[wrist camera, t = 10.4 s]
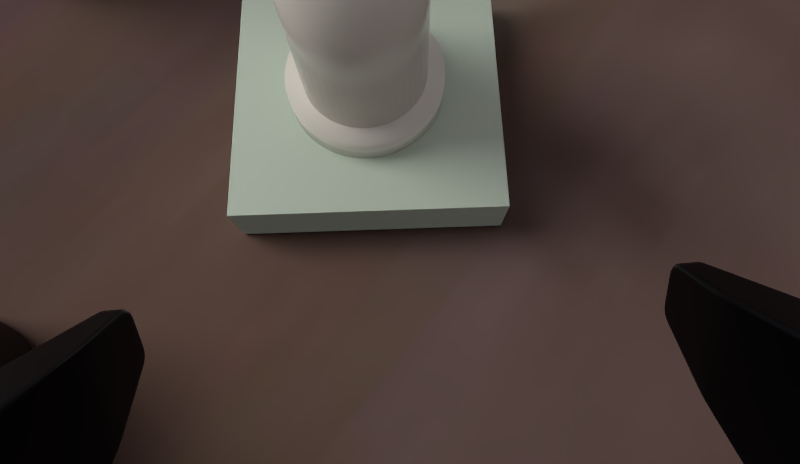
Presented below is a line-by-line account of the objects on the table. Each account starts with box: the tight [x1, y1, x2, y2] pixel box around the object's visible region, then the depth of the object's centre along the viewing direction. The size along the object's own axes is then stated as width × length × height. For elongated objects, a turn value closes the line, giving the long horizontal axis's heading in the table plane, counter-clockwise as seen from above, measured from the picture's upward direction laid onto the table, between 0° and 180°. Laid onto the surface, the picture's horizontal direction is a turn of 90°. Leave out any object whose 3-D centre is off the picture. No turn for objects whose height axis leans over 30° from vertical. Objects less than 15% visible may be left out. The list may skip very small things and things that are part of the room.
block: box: [227, 0, 510, 234], centre depth 24 cm, size 11×11×2 cm
